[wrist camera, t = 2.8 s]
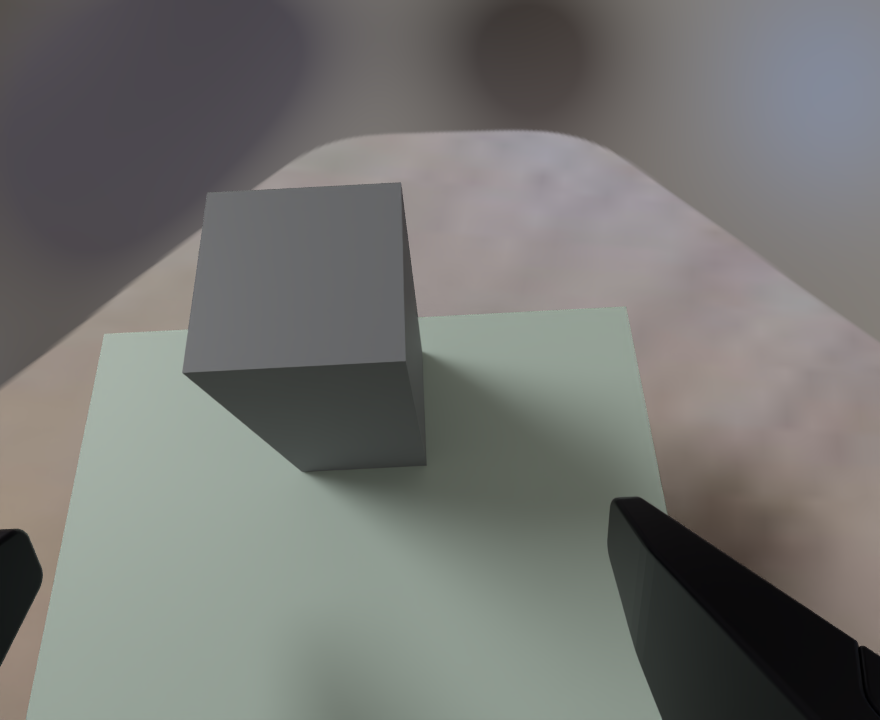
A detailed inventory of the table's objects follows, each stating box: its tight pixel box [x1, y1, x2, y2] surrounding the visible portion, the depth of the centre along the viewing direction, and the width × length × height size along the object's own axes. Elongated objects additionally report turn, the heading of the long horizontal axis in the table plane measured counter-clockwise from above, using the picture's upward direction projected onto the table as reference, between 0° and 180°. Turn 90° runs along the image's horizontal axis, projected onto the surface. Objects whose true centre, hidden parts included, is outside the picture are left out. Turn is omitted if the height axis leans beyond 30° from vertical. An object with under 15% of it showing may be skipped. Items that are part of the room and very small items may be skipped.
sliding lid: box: [26, 182, 667, 720], centre depth 10 cm, size 12×14×7 cm
